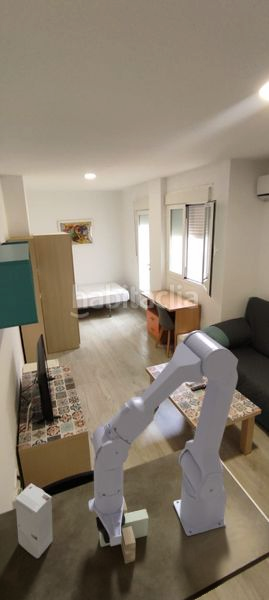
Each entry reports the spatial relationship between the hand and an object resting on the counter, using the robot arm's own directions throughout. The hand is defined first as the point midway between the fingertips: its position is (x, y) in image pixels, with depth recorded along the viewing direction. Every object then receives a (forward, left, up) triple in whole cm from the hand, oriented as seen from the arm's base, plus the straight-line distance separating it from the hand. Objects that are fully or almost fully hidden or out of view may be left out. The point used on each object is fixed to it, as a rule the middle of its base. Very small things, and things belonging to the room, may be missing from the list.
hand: (108, 534), depth 61 cm
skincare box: (+15, -4, -2) cm, 15 cm away
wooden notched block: (-3, 0, -2) cm, 4 cm away
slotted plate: (-3, 0, -2) cm, 4 cm away
